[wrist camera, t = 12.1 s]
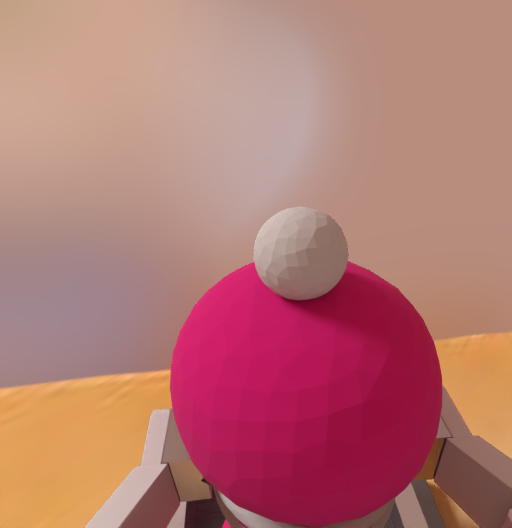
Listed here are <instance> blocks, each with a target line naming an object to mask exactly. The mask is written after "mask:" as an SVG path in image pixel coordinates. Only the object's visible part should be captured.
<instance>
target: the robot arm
mask: <svg viewBox="0 0 512 528" xmlns="http://www.w3.org/2000/svg"><path fill="white" fill-rule="evenodd" d="M442 390H443V393H442V410H441V416H440V422H439V427H438V433H437V436H436V439H435V441H434V443H433V445H432V448H431V450H430V452H429V454H428V456H427V459H426V461H425V463H424V465H423V468H422V469H421V470H420V472H419V473H418V474H417V475H416V477H415V478H414V479H413V480H429V479H434V482H435V483H436V484H437V485H438V486H439V487H440V488H441V489H442V490H443V491H444V492H445V493H446V494H447V495H448V496H449V497H450V498H451V499H452V500H453V501H454V502H455V503H456V504H457V505H458V506H459V507H460V508H461V509H462V510H463V511H464V512H465V513H466V514H467V515H468V516H469V517H470V518H471V519H472V520H473V521H474V522H475V523H476V524H477V525H478V526H479V527H480V528H512V459H511V458H509V457H508V456H506V455H505V454H504V453H502V452H501V451H499V450H498V449H497V448H495V447H494V446H492V445H491V444H489V443H488V442H487V441H485V440H484V439H482V438H481V437H480V436H473V435H472V434H471V432H470V430H469V428H468V427H467V425H466V423H465V422H464V420H463V418H462V416H461V415H460V413H459V411H458V409H457V408H456V406H455V404H454V403H453V401H452V399H451V397H450V396H449V394H448V392H447V390H446V389H445V387H443V386H442ZM413 480H412V481H413ZM211 496H212V485H211V484H210V483H209V482H208V481H206V480H205V478H204V477H203V476H202V474H201V473H200V472H199V471H198V469H197V468H196V467H195V465H194V464H193V463H192V460H191V458H190V456H189V454H188V452H187V450H186V447H185V445H184V443H183V441H182V439H181V437H180V434H179V431H178V428H177V425H176V422H175V419H174V414H173V408H172V409H159V410H153V412H152V414H151V417H150V422H149V427H148V432H147V437H146V442H145V447H144V452H143V457H142V462H141V466H135V467H134V469H133V470H132V471H131V472H130V473H129V475H128V476H127V477H126V478H125V479H124V481H123V482H122V483H121V484H120V485H119V487H118V488H117V489H116V490H115V491H114V493H113V494H112V495H111V496H110V497H109V499H108V500H107V501H106V502H105V503H104V505H103V506H102V507H101V508H100V509H99V511H98V512H97V513H96V514H95V515H94V517H93V518H92V519H91V520H90V521H89V523H88V524H87V525H86V526H85V528H167V526H168V525H169V523H170V521H171V519H172V518H173V516H174V514H175V513H176V511H177V509H178V508H179V506H180V502H186V501H194V500H203V499H211Z"/></svg>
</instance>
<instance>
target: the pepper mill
mask: <svg viewBox="0 0 512 528" xmlns="http://www.w3.org/2000/svg"><path fill="white" fill-rule="evenodd" d="M170 391H171V399H172V407H173V414H174V419H175V422H176V425H177V428H178V431H179V434H180V437H181V439H182V441H183V443H184V445H185V447H186V450H187V452H188V454H189V456H190V458H191V460H192V463H193V464H194V465H195V467H196V468H197V469H198V471H199V472H200V473H201V474H202V476H203V477H204V478H205V480H206V481H208V482H209V483H210V484H211V485H212V486H214V491H215V495H216V499H217V502H218V504H219V506H220V508H221V511H222V513H223V515H224V516H225V518H226V520H225V522H224V524H223V527H222V528H384V526H385V524H386V523H387V521H388V519H389V517H390V514H391V512H392V509H393V505H394V502H395V497H397V496H398V495H399V494H400V493H401V492H402V491H404V490H405V489H406V488H407V486H408V485H409V484H410V483H411V481H412V480H413V479H414V478H415V477H416V475H417V474H418V473H419V472H420V470H421V469H422V468H423V465H424V463H425V461H426V459H427V456H428V454H429V452H430V450H431V448H432V445H433V443H434V441H435V439H436V436H437V433H438V427H439V422H440V416H441V410H442V393H443V390H442V375H441V369H440V364H439V359H438V356H437V352H436V348H435V344H434V341H433V339H432V337H431V335H430V333H429V331H428V329H427V327H426V325H425V323H424V320H423V319H422V317H421V316H420V315H419V313H418V312H417V311H416V309H415V308H414V307H413V305H412V304H411V303H410V302H409V301H408V300H407V299H406V298H405V297H404V295H403V294H402V293H401V292H400V291H399V290H398V288H396V287H395V286H393V285H391V284H390V283H388V282H387V281H385V280H384V279H382V278H381V277H379V276H378V275H376V274H374V273H373V272H371V271H370V270H367V269H365V268H363V267H360V266H358V265H356V264H353V263H351V262H349V261H348V248H347V241H346V239H345V236H344V234H343V232H342V229H341V228H340V226H339V225H338V224H337V223H336V222H335V220H334V219H332V218H331V217H330V216H329V215H327V214H325V213H323V212H322V211H320V210H317V209H312V208H307V207H295V208H289V209H284V210H282V211H281V212H279V213H277V214H276V215H274V216H273V217H271V218H270V219H269V220H268V221H267V222H266V223H265V224H264V225H263V226H262V228H261V230H260V231H259V233H258V235H257V238H256V241H255V245H254V262H253V263H251V264H248V265H245V266H243V267H241V268H240V269H238V270H236V271H234V272H232V273H230V274H229V275H227V276H226V277H224V278H223V279H222V280H220V281H219V282H218V283H217V284H215V285H214V286H213V287H212V288H210V289H209V290H208V291H207V292H206V293H205V294H204V295H203V297H202V298H201V299H200V300H199V301H198V302H197V304H196V305H195V306H194V308H193V310H192V311H191V313H190V315H189V316H188V318H187V320H186V322H185V324H184V325H183V327H182V329H181V330H180V333H179V336H178V340H177V343H176V345H175V348H174V352H173V358H172V364H171V379H170Z"/></svg>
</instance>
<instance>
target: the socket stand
mask: <svg viewBox="0 0 512 528" xmlns="http://www.w3.org/2000/svg"><path fill="white" fill-rule="evenodd" d="M225 520H226V518H225V516H224V515H223V513H222V511H221V508H220V506H219V504H218V502H217V499H216V495H215V491H214V486H212V496H211V499H203V500H194V501H186V502H180V506H179V508H178V509H177V511H176V513H175V514H174V516H173V518H172V519H171V521H170V523H169V525H168V526H167V528H222V527H223V524H224V522H225ZM384 528H446V527H445V525H444V522H443V520H442V517H441V515H440V513H439V510H438V508H437V506H436V503H435V501H434V498H433V496H432V494H431V491H430V489H429V486H428V484H427V482H426V480H413V481H411V483H410V484H409V485H408V486H407V488H406V489H405V490H404V491H402V492H401V493H400V494H399V495H398V496H397V497H395V502H394V505H393V509H392V512H391V514H390V517H389V519H388V521H387V523H386V524H385V526H384Z"/></svg>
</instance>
